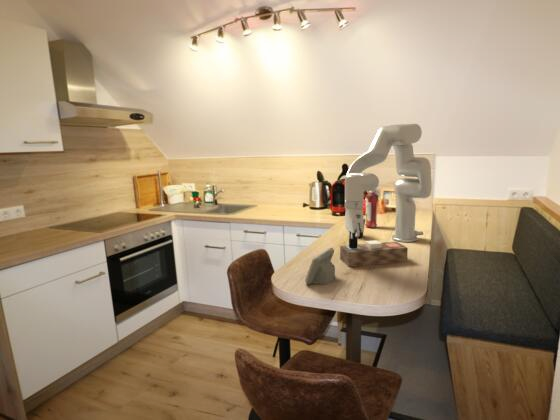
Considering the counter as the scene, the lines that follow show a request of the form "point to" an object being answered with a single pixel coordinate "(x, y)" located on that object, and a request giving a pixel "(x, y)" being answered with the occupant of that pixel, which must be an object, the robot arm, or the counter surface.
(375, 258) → the frame
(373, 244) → the white key
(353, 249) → the blue key
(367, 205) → the liquor
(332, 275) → the grey rock
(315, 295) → the counter surface
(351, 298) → the counter surface
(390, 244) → the pink block
